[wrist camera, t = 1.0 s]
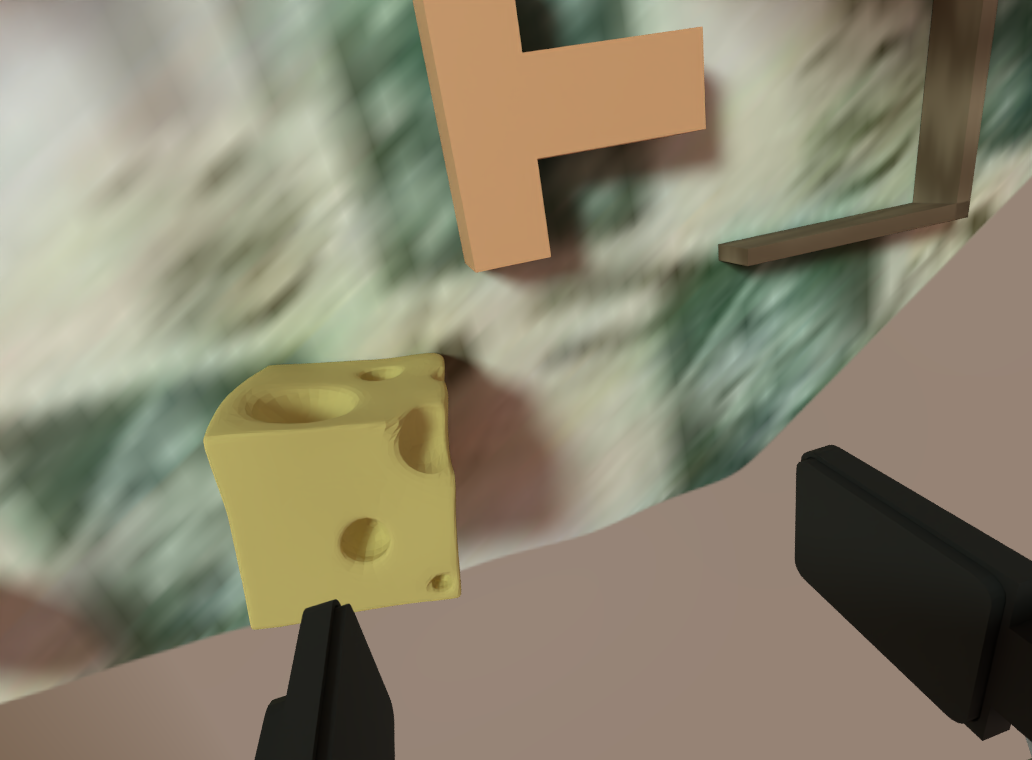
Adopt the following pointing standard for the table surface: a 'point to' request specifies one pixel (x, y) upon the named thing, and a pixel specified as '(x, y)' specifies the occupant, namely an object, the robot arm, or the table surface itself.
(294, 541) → the cheese
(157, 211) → the table surface
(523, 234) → the t block
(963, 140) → the brown wooden rack
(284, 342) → the table surface
